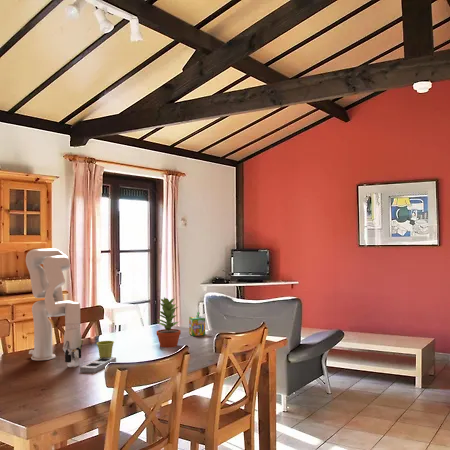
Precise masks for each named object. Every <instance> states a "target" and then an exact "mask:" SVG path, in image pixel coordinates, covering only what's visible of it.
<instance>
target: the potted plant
mask: <svg viewBox="0 0 450 450" xmlns="http://www.w3.org/2000/svg"><path fill="white" fill-rule="evenodd" d="M159 299H160V301H161V302H162V303H160V302H159V305H160V306H161V310H162V311H161V310H158V312H159V313H160V314H157V315H158V316H159V317H160V318H163V319H165V320H163V319H160V318H157V319H156V320H157V321H159V322H157V324H159V325H161V326H162V327H164V328H163V329H158V330H157V331H156V336H157V339H158V343H159V346H160V348H166V349H167V348H176V347H178V343H179V339H180V335H181V329H178V328H174V326H175V325H177V324H179V321H175V322H174V321H173V319H175V317H177V314H175V311H176V309H178V307H179V306H176V303H175V304H174V300H175V299H176V297H174V298H171V300H169V299H168V297H163V298H159ZM174 314H175V315H174Z"/></svg>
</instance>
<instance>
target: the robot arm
mask: <svg viewBox="0 0 450 450" xmlns="http://www.w3.org/2000/svg"><path fill="white" fill-rule="evenodd" d="M25 264H26V268H27V270H28V273H29V277H30V283H31V284H30V285H31V291H32V295H33V298H35V299H41V300H37V301H35V302H34V303H33V304H32V307H31V314H32V318H33V345H34V347H33V348H34V349H30V350H28V354H29V355H32V356H30V358H31V360H32V361H38V362H39V361H49V360H53V359H56V354H55V353H53V324H52V321H51V320H50V319H49V318H52V317H62V316H64V320H65V321H64V324H65V325H64V327H65V328H64V334H63V346H62V351H63V353H64V363H67V364H68V363H70V362H71V351H72V350H73V349H77V350H79V359H81V358H82V349H83V348H82V347H83V343H84V340H82V332H81V304H80V302H78V301H73V300H71V299H70V300H69V299H67V300H65V299H64V295H63V294H64V293H63V288H62V286H63V285H64V284H66V279H65V276H64V273H63V271H64V272H65V271H68V270H69V269H70V267H71V261H70V258H69V257H68V256H67V254H65V253H63V252H62V251H60V250H59V249H57V248H36V249H35V248H33V249H31V250H29V251H28V252H27V253H26V257H25ZM42 265H43V266H42ZM42 299H43V300H42Z"/></svg>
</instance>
